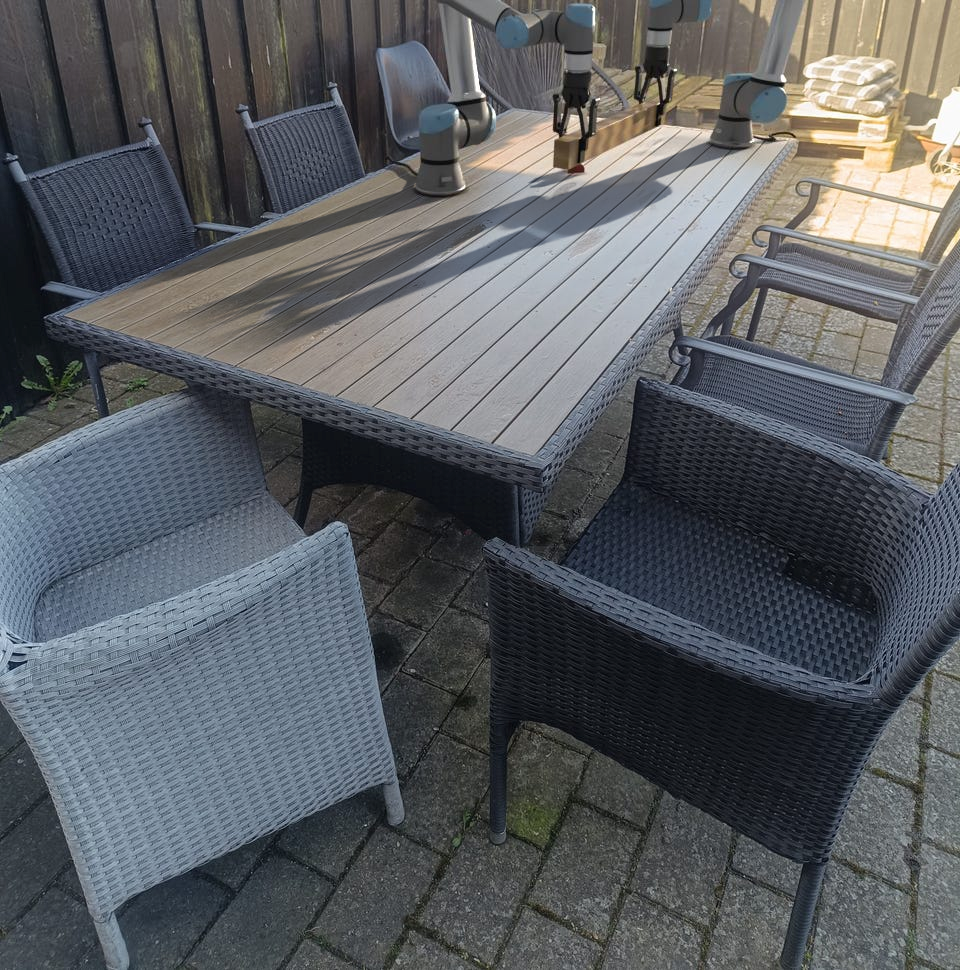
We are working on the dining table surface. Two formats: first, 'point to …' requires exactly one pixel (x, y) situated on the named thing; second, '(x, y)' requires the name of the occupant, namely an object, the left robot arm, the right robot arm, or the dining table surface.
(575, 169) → the dark red lumpy piece
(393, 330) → the dining table surface
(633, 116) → the bar
